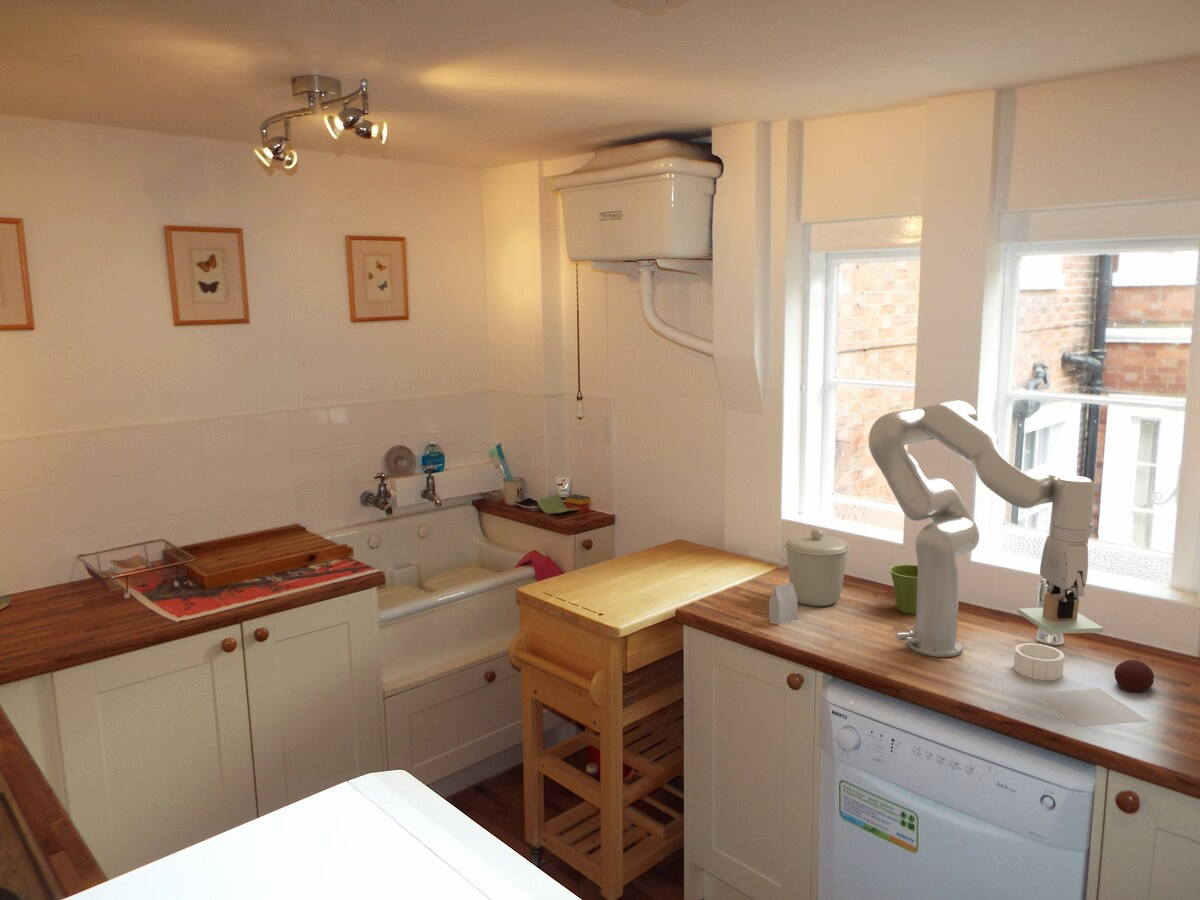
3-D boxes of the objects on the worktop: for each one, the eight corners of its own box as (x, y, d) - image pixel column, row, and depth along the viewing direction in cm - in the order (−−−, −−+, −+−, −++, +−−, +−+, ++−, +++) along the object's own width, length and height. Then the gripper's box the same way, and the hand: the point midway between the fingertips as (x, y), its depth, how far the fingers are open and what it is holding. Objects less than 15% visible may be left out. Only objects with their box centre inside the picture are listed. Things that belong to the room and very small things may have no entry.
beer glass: (1069, 647, 215) (1074, 588, 212) (1038, 645, 216) (1042, 586, 214) (1060, 636, 222) (1065, 579, 219) (1030, 634, 223) (1034, 577, 220)
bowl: (1030, 683, 195) (1031, 661, 195) (1005, 664, 205) (1006, 644, 204) (1071, 680, 196) (1073, 659, 196) (1044, 662, 206) (1046, 642, 205)
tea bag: (796, 620, 235) (797, 584, 234) (778, 626, 232) (779, 589, 230) (786, 616, 238) (787, 581, 237) (768, 621, 235) (769, 586, 233)
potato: (1107, 690, 191) (1109, 664, 190) (1122, 676, 198) (1124, 650, 197) (1145, 701, 186) (1148, 674, 185) (1159, 686, 193) (1161, 660, 192)
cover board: (1048, 634, 185) (1051, 607, 184) (1017, 612, 197) (1020, 587, 196) (1102, 632, 186) (1106, 605, 185) (1068, 611, 198) (1071, 585, 197)
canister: (856, 596, 253) (858, 525, 249) (836, 616, 238) (839, 540, 234) (795, 586, 262) (797, 518, 259) (773, 604, 247) (774, 532, 244)
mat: (1078, 728, 175) (1079, 725, 175) (1034, 694, 190) (1034, 692, 190) (1148, 723, 177) (1148, 720, 176) (1099, 690, 191) (1099, 688, 191)
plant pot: (922, 601, 248) (924, 563, 246) (940, 616, 236) (942, 576, 234) (881, 602, 247) (882, 564, 246) (896, 618, 236) (898, 577, 234)
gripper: (1030, 523, 195) (1022, 601, 199) (1075, 545, 179) (1065, 630, 183) (1062, 522, 196) (1053, 600, 200) (1110, 544, 180) (1100, 629, 184)
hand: (1059, 613), depth 191 cm, fingers closed on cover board, 3 cm apart
